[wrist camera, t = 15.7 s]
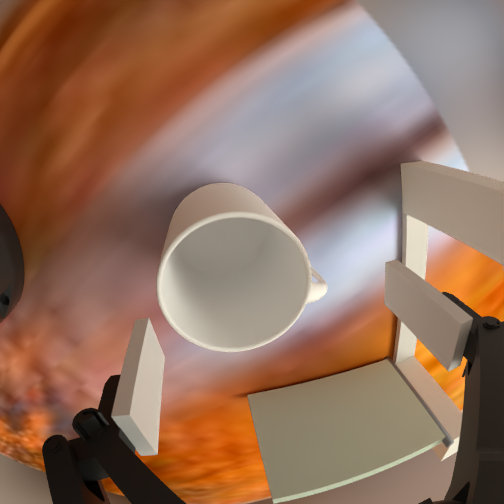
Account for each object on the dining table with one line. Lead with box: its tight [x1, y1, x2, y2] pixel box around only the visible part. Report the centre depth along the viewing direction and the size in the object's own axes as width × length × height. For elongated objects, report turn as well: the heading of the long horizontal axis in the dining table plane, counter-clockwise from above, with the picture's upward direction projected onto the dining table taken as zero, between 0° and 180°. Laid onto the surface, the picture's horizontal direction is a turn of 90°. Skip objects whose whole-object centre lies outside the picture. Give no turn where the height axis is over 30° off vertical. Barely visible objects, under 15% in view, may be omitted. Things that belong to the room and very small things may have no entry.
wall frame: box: [393, 161, 504, 461], centre depth 26 cm, size 30×3×15 cm, turn 10°
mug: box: [156, 183, 327, 352], centre depth 22 cm, size 9×12×11 cm
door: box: [247, 356, 454, 503], centre depth 29 cm, size 19×3×16 cm, turn 96°
